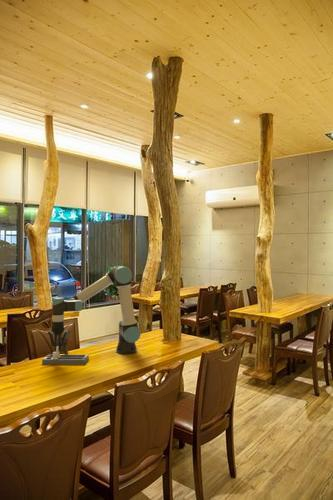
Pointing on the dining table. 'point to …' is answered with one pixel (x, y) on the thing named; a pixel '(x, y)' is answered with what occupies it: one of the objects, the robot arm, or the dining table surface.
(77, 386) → the dining table surface
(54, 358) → the tab ivory
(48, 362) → the switch bank
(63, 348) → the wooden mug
